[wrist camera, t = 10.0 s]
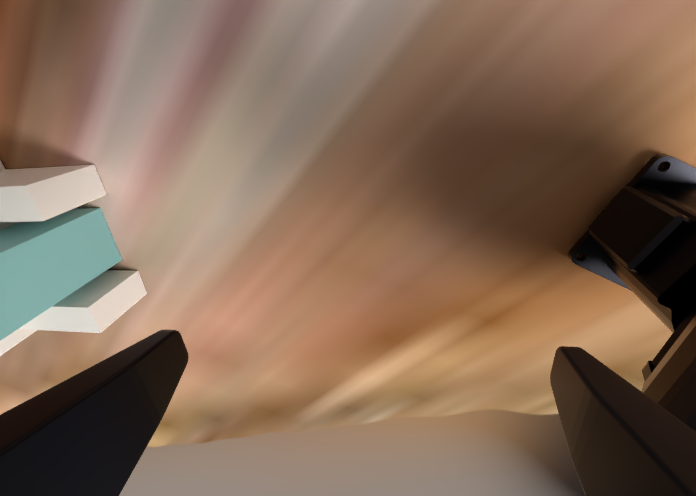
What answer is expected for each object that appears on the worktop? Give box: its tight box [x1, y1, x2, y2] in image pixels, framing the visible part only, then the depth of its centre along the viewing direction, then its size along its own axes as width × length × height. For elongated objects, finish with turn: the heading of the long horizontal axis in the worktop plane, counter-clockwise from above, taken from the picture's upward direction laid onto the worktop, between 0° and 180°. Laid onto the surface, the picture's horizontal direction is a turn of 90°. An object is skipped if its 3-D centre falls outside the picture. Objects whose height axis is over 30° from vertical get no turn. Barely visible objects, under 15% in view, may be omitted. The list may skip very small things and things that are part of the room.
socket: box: [0, 160, 147, 356], centre depth 22 cm, size 10×12×7 cm
